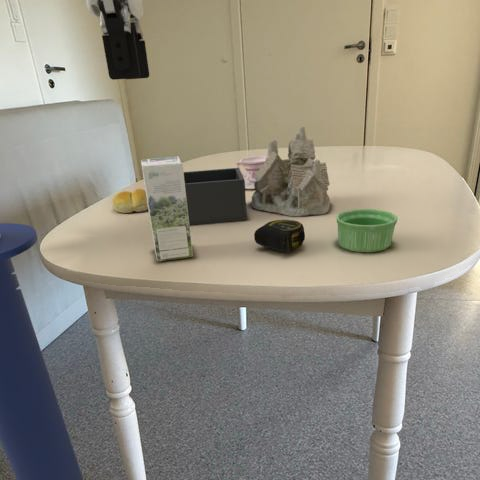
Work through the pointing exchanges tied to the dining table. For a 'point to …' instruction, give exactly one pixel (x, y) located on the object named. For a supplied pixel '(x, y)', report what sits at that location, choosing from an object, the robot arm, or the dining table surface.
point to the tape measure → (280, 235)
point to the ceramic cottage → (292, 180)
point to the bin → (215, 196)
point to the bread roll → (130, 201)
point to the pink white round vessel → (251, 169)
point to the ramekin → (365, 229)
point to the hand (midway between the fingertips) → (131, 78)
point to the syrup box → (167, 207)
